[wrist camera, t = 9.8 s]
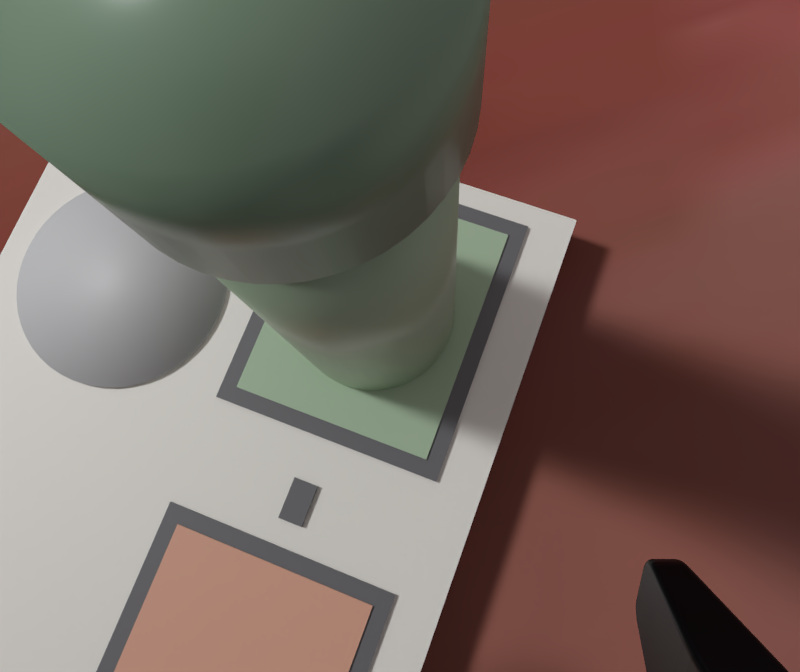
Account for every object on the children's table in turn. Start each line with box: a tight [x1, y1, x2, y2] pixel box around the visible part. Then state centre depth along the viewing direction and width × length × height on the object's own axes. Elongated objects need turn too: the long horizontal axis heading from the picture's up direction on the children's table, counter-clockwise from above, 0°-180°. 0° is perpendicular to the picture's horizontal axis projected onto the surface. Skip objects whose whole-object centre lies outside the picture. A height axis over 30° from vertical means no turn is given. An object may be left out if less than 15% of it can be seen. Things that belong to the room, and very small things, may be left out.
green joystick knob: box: [0, 0, 490, 391], centre depth 11 cm, size 4×4×12 cm
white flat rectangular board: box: [0, 163, 577, 672], centre depth 17 cm, size 18×14×1 cm
